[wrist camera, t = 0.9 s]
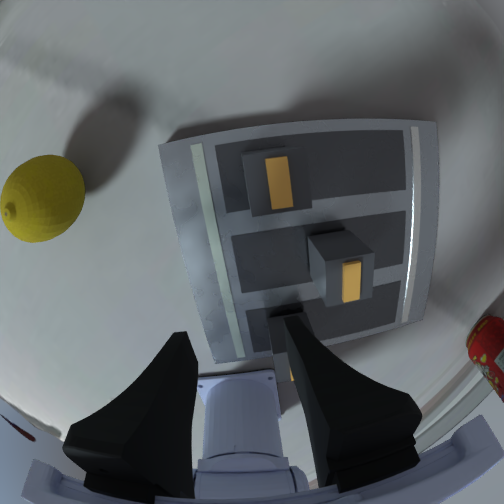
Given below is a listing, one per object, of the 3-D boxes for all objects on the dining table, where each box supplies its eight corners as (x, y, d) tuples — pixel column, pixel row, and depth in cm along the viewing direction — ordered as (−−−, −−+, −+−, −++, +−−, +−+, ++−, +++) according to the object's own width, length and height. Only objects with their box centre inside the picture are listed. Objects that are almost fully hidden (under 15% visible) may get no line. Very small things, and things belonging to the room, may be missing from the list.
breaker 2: (307, 340, 22) (319, 378, 18) (271, 346, 22) (277, 386, 18) (305, 311, 21) (319, 348, 17) (266, 318, 21) (273, 357, 17)
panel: (415, 311, 24) (423, 320, 23) (215, 352, 24) (215, 364, 23) (425, 121, 17) (436, 121, 16) (163, 144, 17) (157, 145, 16)
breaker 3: (349, 268, 19) (373, 299, 15) (310, 276, 19) (327, 310, 15) (349, 230, 18) (377, 254, 14) (307, 236, 18) (326, 263, 14)
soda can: (455, 346, 27) (502, 408, 16) (486, 303, 25) (543, 358, 14) (471, 355, 29) (512, 408, 18) (499, 318, 27) (546, 366, 16)
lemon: (91, 138, 16) (21, 146, 9) (111, 207, 19) (52, 247, 11) (40, 166, 17) (-28, 188, 9) (60, 228, 19) (0, 270, 11)
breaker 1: (295, 193, 17) (314, 209, 13) (248, 199, 17) (252, 218, 13) (290, 145, 16) (307, 147, 12) (240, 152, 16) (242, 155, 12)
